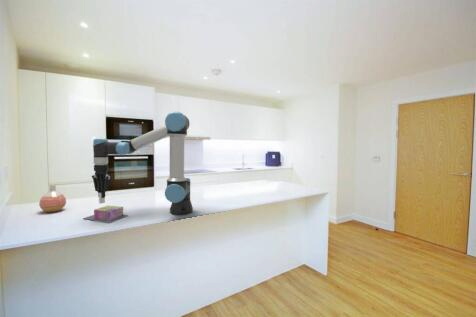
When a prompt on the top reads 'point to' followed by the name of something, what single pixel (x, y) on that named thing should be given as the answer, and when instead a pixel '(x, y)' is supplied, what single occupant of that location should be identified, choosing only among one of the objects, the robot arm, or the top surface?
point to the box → (108, 212)
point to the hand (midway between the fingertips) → (101, 202)
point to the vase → (52, 200)
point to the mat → (103, 220)
